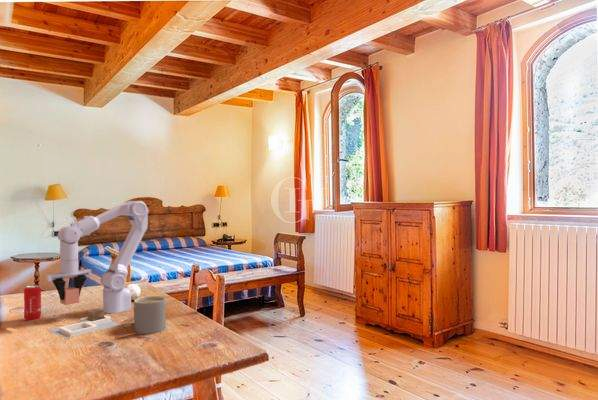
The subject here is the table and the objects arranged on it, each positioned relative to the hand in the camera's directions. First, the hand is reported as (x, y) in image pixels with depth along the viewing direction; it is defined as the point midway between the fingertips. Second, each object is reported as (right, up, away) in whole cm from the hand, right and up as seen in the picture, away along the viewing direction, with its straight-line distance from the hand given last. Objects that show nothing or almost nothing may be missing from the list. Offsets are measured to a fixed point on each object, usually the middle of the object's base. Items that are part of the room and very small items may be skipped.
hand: (69, 298), depth 149 cm
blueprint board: (+10, -8, -10) cm, 16 cm away
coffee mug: (+31, -9, -8) cm, 33 cm away
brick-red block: (0, -2, 0) cm, 2 cm away
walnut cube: (+11, -7, -4) cm, 14 cm away
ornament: (+10, -8, +30) cm, 33 cm away
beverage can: (-15, -9, +3) cm, 18 cm away
